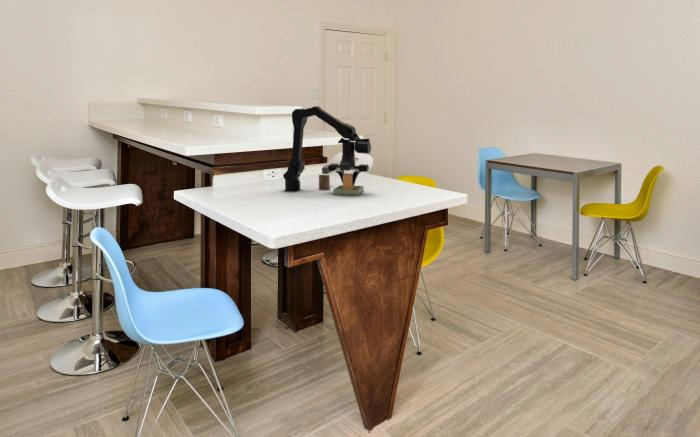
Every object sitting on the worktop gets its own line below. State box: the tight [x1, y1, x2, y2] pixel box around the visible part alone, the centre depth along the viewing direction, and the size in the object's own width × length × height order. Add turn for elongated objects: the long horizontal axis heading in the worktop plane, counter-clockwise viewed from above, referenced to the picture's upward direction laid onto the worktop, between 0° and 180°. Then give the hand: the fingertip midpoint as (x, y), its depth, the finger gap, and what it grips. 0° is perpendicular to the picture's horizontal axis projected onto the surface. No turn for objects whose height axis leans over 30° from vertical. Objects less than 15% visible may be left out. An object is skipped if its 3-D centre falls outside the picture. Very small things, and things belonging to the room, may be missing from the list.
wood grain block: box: [318, 174, 331, 191], centre depth 262 cm, size 5×2×7 cm, turn 77°
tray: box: [332, 184, 364, 197], centre depth 253 cm, size 12×12×3 cm
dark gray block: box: [321, 164, 333, 175], centre depth 267 cm, size 3×10×3 cm, turn 167°
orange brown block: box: [342, 172, 355, 190], centre depth 252 cm, size 4×5×7 cm
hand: (348, 185), depth 253 cm, fingers closed on orange brown block, 4 cm apart
